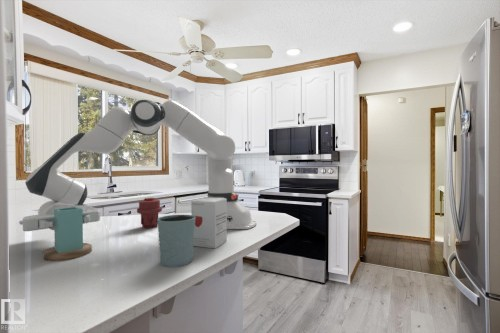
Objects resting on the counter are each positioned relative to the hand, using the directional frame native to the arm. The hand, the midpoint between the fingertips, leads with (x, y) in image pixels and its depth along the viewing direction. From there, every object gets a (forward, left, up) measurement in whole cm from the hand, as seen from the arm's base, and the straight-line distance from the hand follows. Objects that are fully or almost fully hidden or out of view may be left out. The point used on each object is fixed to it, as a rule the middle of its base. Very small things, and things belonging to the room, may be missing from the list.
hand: (68, 222), depth 80 cm
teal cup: (-34, -3, -10) cm, 36 cm away
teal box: (+1, -1, -8) cm, 8 cm away
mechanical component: (-1, -36, -10) cm, 38 cm away
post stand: (+1, 0, -9) cm, 10 cm away
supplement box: (-36, -20, -10) cm, 43 cm away
